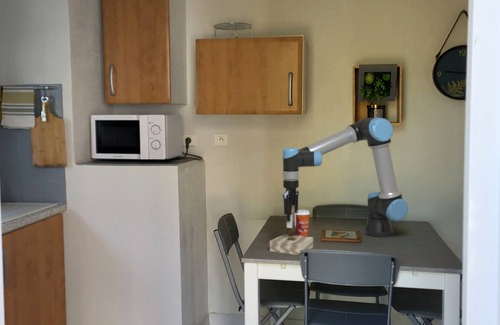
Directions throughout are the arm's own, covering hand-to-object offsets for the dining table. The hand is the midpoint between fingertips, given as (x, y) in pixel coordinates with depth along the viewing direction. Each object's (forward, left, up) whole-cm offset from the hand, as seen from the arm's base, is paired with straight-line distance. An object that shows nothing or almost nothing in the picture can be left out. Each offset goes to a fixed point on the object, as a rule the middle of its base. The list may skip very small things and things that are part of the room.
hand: (291, 226), depth 245 cm
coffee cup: (+4, -22, -11) cm, 25 cm away
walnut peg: (0, 0, -4) cm, 4 cm away
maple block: (0, 0, -11) cm, 11 cm away
